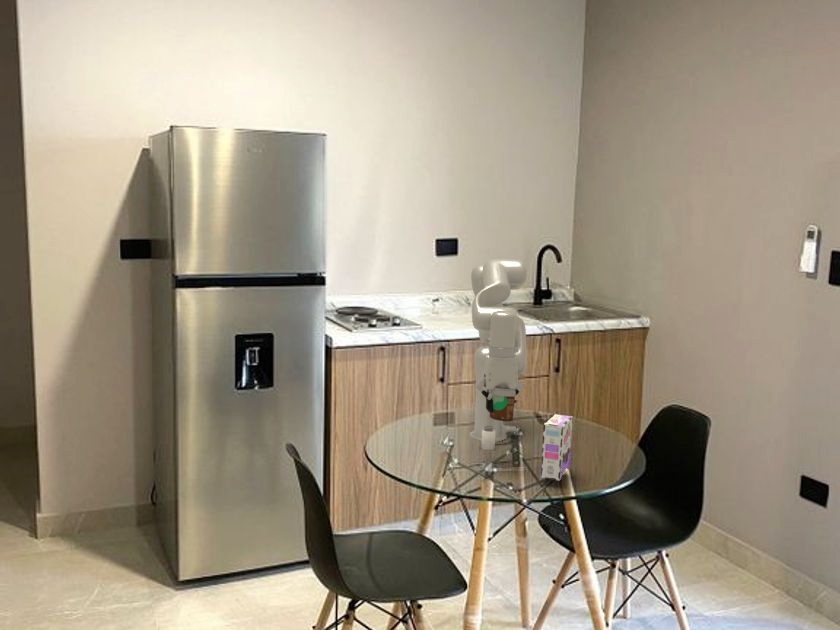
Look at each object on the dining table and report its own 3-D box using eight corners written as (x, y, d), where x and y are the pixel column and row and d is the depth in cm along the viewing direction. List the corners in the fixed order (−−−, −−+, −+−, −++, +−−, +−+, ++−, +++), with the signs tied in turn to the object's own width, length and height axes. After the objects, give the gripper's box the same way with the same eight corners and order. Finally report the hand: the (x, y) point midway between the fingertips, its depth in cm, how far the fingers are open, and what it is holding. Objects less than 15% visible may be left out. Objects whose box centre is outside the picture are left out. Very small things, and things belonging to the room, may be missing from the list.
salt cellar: (492, 446, 281) (493, 424, 280) (496, 450, 276) (497, 428, 276) (479, 446, 280) (480, 425, 279) (483, 450, 275) (484, 428, 275)
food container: (479, 413, 263) (480, 381, 262) (497, 411, 265) (499, 380, 264) (495, 423, 252) (497, 390, 250) (514, 422, 254) (516, 389, 252)
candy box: (559, 481, 247) (562, 425, 244) (540, 478, 249) (542, 423, 247) (570, 468, 259) (573, 415, 257) (551, 465, 261) (554, 413, 259)
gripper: (524, 349, 261) (521, 407, 264) (470, 350, 257) (468, 409, 260) (533, 354, 254) (530, 413, 257) (478, 355, 250) (475, 415, 253)
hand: (499, 410), depth 258 cm, fingers closed on food container, 5 cm apart
